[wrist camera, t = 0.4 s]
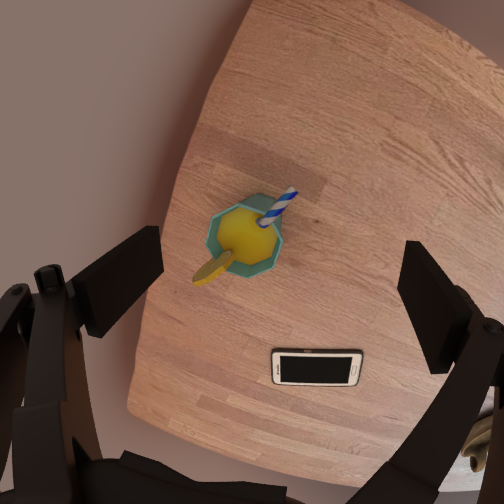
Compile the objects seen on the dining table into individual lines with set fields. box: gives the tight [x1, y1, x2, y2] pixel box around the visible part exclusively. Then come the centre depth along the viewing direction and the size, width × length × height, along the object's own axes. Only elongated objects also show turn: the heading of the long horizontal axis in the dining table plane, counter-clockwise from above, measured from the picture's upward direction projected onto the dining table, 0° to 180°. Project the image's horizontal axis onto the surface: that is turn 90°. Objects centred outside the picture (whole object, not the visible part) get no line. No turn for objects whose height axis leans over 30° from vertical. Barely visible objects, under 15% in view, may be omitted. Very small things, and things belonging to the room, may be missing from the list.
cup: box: [193, 186, 298, 287], centre depth 32 cm, size 14×8×15 cm, turn 141°
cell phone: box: [271, 349, 363, 387], centre depth 47 cm, size 8×15×1 cm, turn 94°
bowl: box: [461, 415, 493, 472], centre depth 44 cm, size 14×18×10 cm
